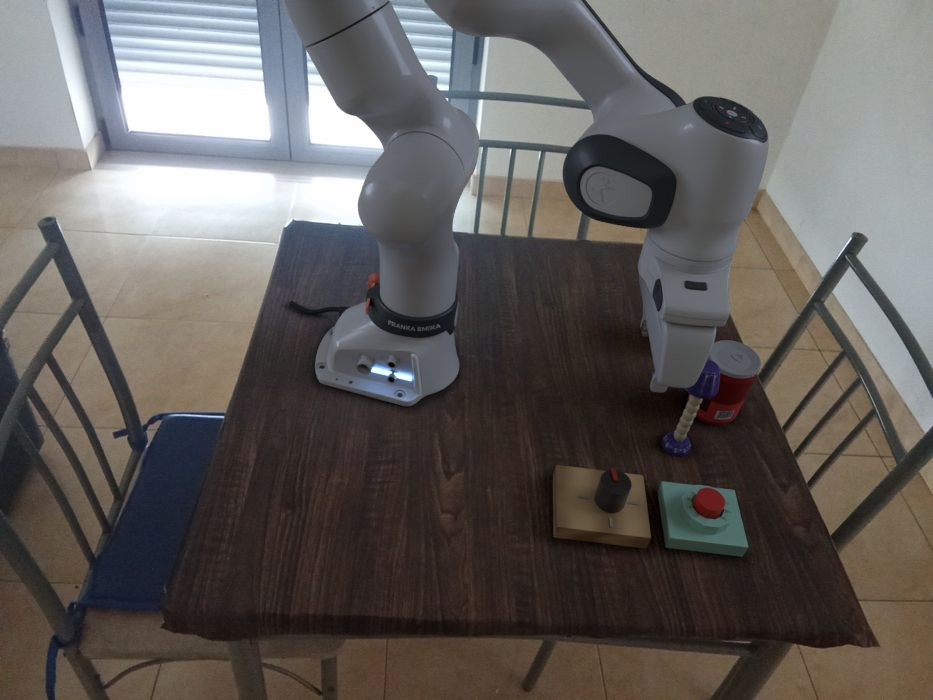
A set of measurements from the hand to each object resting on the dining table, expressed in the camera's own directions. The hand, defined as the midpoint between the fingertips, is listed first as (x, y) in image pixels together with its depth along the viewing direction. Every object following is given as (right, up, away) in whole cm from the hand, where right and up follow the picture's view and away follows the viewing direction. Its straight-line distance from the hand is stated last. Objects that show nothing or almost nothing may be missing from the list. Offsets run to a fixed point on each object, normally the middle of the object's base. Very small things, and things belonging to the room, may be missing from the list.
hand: (651, 359), depth 83 cm
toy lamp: (+9, -13, +22) cm, 27 cm away
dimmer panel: (-4, -20, +12) cm, 24 cm away
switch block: (+9, -22, +12) cm, 27 cm away
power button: (+10, -19, +10) cm, 24 cm away
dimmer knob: (-3, -19, +11) cm, 22 cm away
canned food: (+17, -8, +29) cm, 34 cm away
